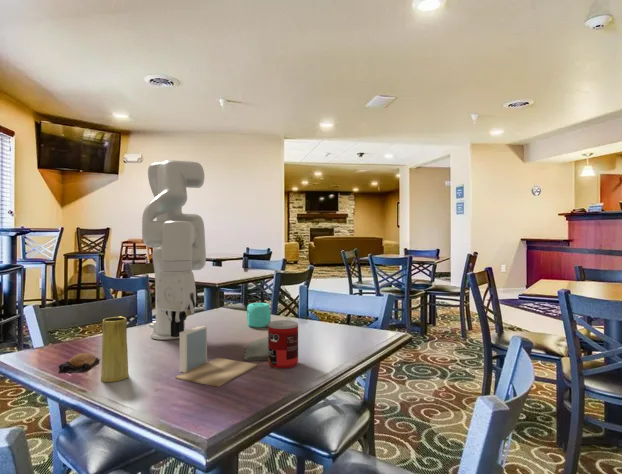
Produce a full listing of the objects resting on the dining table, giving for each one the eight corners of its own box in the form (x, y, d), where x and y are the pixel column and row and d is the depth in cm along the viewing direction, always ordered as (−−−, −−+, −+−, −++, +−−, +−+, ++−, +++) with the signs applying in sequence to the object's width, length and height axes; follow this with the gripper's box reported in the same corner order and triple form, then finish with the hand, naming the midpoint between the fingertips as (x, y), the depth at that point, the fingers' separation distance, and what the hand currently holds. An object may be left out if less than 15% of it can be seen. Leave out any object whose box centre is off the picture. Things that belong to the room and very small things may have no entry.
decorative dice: (267, 322, 156) (267, 302, 156) (270, 326, 148) (270, 305, 148) (247, 323, 154) (246, 303, 154) (249, 328, 146) (249, 306, 146)
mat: (175, 378, 95) (175, 376, 95) (218, 359, 110) (218, 357, 110) (218, 386, 90) (218, 385, 90) (257, 365, 104) (257, 364, 104)
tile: (179, 371, 100) (179, 332, 100) (201, 362, 107) (200, 325, 107) (186, 372, 99) (186, 333, 99) (207, 363, 106) (207, 326, 106)
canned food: (268, 360, 109) (268, 320, 109) (297, 359, 110) (297, 319, 110) (267, 369, 101) (267, 326, 101) (299, 368, 102) (298, 326, 102)
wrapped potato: (70, 363, 109) (70, 349, 109) (103, 361, 110) (103, 347, 110) (52, 376, 98) (52, 361, 98) (89, 374, 100) (89, 359, 100)
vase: (110, 384, 91) (109, 322, 91) (95, 379, 95) (95, 319, 95) (134, 376, 97) (133, 318, 96) (119, 371, 100) (119, 315, 100)
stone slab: (243, 367, 108) (280, 361, 109) (242, 357, 108) (278, 351, 109) (248, 345, 130) (278, 340, 131) (247, 337, 130) (277, 332, 131)
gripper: (145, 267, 105) (145, 336, 105) (188, 269, 99) (188, 342, 99) (166, 265, 112) (167, 330, 112) (208, 267, 106) (208, 335, 106)
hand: (177, 335), depth 105 cm, fingers closed
